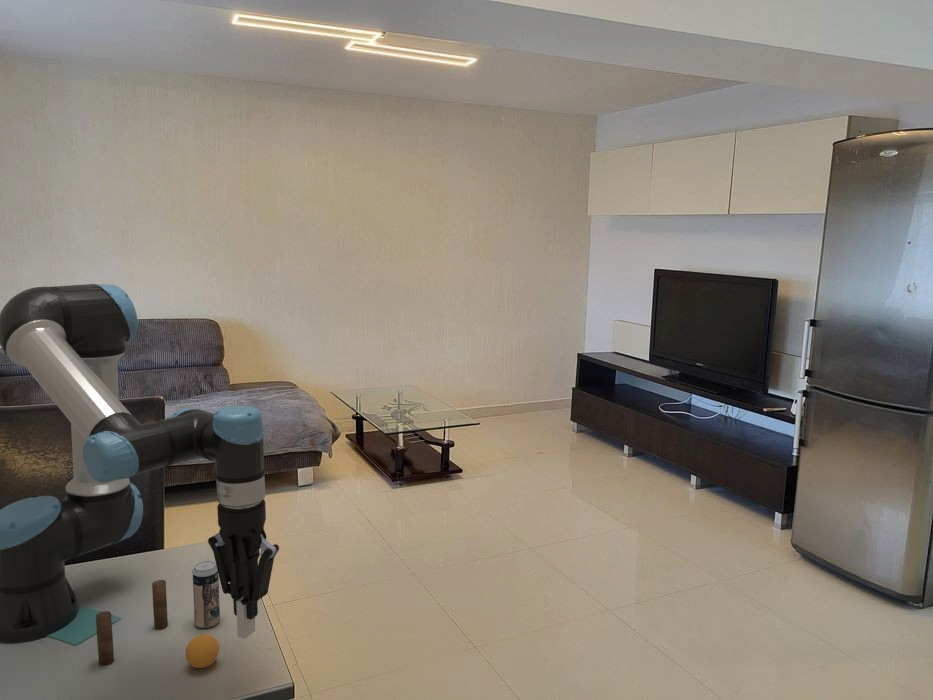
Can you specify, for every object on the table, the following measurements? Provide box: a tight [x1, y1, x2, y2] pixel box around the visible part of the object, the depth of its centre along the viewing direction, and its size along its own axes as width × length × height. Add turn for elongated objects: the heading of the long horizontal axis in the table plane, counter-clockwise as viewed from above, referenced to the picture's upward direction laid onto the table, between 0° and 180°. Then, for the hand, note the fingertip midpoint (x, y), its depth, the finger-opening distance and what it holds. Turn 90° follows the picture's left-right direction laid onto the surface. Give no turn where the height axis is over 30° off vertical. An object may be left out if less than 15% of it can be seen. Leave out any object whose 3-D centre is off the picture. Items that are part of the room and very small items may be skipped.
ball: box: [185, 633, 220, 669], centre depth 122 cm, size 6×6×6 cm
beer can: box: [191, 560, 221, 629], centre depth 135 cm, size 5×5×12 cm
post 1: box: [96, 610, 115, 667], centre depth 122 cm, size 2×2×9 cm
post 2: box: [151, 579, 169, 631], centre depth 134 cm, size 2×2×9 cm
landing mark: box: [46, 606, 122, 647], centre depth 134 cm, size 10×10×1 cm
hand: (246, 633), depth 118 cm, fingers closed
